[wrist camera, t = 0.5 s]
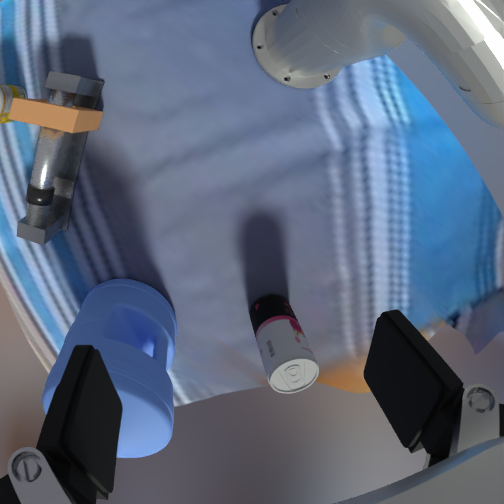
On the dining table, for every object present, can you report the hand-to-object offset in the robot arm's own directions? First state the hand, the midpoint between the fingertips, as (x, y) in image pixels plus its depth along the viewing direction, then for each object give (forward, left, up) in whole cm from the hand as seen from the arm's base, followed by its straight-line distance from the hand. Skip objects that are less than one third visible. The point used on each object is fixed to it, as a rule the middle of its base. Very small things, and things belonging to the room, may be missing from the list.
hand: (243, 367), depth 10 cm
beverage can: (+17, +16, -34) cm, 41 cm away
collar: (-3, -20, -33) cm, 39 cm away
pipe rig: (+2, -20, -33) cm, 39 cm away
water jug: (+25, -5, -34) cm, 42 cm away
